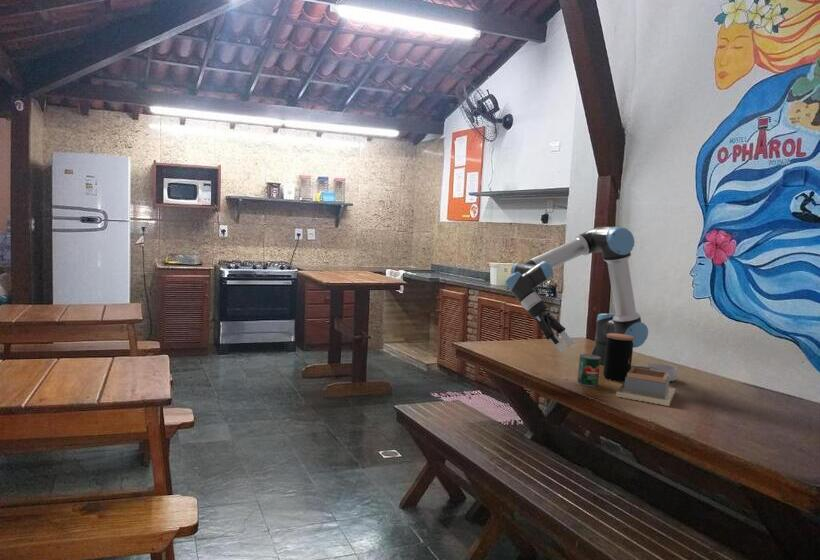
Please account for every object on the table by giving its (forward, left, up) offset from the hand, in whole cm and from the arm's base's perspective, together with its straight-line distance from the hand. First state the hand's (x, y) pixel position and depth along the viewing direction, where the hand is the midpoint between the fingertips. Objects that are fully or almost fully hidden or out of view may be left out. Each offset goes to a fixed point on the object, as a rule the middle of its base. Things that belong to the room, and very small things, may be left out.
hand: (567, 347), depth 240 cm
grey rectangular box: (+1, +31, -13) cm, 34 cm away
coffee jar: (-19, +17, -13) cm, 28 cm away
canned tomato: (-1, +9, -13) cm, 16 cm away
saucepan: (-29, +30, -13) cm, 44 cm away
